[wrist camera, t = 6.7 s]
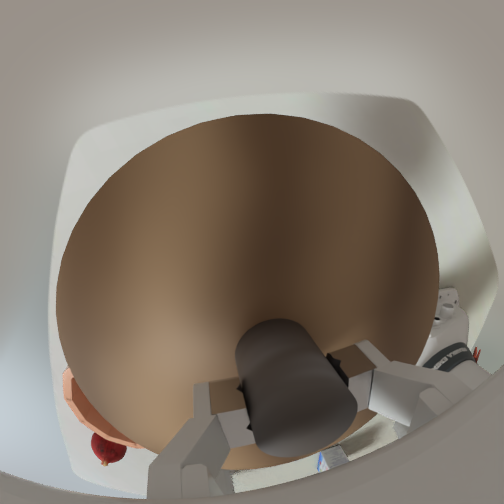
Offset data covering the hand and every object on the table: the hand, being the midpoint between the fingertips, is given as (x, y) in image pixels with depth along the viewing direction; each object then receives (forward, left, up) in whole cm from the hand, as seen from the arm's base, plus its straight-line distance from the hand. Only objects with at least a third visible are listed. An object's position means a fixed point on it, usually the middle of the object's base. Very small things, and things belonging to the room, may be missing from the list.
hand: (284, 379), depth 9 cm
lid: (0, 0, -3) cm, 3 cm away
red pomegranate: (+25, +26, -23) cm, 43 cm away
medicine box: (-11, +48, -24) cm, 55 cm away
